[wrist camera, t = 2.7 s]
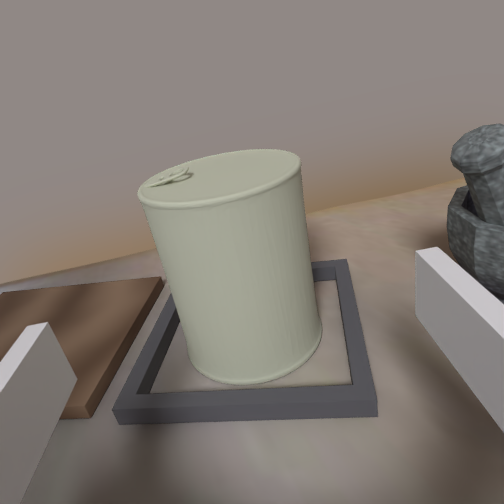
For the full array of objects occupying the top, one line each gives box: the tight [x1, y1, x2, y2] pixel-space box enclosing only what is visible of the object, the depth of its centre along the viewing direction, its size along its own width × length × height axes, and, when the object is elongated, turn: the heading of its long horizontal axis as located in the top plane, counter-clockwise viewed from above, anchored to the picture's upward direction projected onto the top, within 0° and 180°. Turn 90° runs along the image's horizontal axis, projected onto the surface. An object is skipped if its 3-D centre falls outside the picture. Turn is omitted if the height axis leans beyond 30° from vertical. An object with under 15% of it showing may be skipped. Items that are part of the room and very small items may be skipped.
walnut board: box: [0, 277, 164, 419], centre depth 30 cm, size 16×14×1 cm
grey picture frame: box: [112, 259, 378, 424], centre depth 27 cm, size 14×14×1 cm
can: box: [137, 149, 322, 385], centre depth 24 cm, size 9×9×12 cm
